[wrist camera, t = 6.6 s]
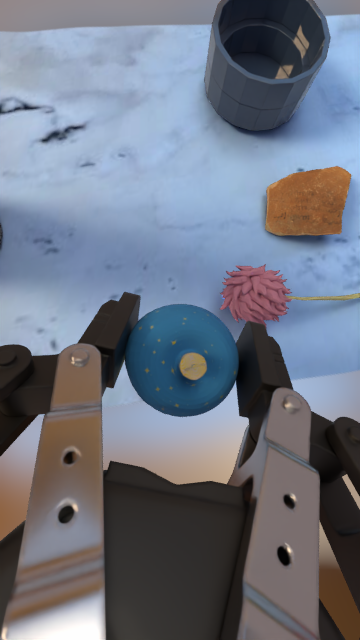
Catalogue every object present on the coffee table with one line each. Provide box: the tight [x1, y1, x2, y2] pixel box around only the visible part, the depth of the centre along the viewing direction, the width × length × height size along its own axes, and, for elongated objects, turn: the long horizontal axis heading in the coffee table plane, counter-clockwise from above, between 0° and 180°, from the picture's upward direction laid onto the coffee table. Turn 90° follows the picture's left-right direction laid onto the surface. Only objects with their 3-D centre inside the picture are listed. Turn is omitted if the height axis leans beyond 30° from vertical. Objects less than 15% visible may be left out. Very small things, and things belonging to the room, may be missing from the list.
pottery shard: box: [265, 166, 351, 236], centre depth 28 cm, size 10×9×2 cm
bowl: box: [204, 0, 330, 131], centre depth 27 cm, size 12×12×6 cm
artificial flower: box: [220, 264, 360, 327], centre depth 26 cm, size 7×7×25 cm
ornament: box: [125, 304, 239, 417], centre depth 15 cm, size 5×5×15 cm
